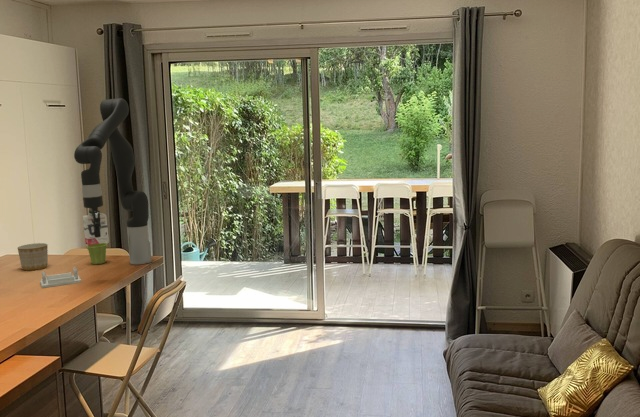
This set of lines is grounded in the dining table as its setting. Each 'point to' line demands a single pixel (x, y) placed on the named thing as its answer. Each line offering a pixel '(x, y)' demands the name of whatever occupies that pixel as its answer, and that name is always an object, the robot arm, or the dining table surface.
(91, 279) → the dining table surface
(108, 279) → the dining table surface
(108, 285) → the dining table surface
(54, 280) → the white pegged base plate
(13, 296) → the dining table surface
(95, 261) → the plant pot
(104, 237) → the ink box
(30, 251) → the planter
